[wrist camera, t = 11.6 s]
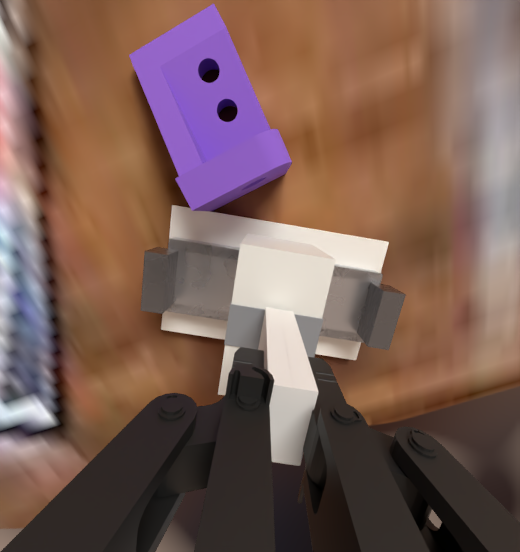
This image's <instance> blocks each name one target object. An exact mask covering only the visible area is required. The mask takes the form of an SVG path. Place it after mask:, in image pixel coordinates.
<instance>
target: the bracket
mask: <svg viewBox="0 0 520 552" xmlns="http://www.w3.org/2000/svg"><path fill="white" fill-rule="evenodd" d="M129 57H130V59H131V61H132V64H133V66H134V69H135V71H136V74H137V76H138V78H139V81H140V83H141V86H142V88H143V90H144V93H145V95H146V98H147V100H148V103H149V105H150V107H151V110H152V112H153V115H154V117H155V119H156V122H157V124H158V127H159V129H160V132H161V134H162V136H163V139H164V141H165V144H166V146H167V148H168V151H169V153H170V156H171V158H172V161H173V163H174V165H175V168H176V170H177V173H178V175H179V177H177V178H175V180H176V181H177V183H178V185H179V187H180V189H181V191H182V193H183V195H184V197H185V198H186V200H187V202H188V204H189V206H190V208H191V210H192V211H214V210H216V209H218V208H220V207H222V206H224V205H226V204H228V203H230V202H231V201H233V200H235V199H237V198H239V197H241V196H243V195H245V194H247V193H249V192H251V191H253V190H255V189H257V188H259V187H261V186H263V185H265V184H267V183H269V182H271V181H273V180H274V179H276V178H278V177H280V176H282V175H284V174H286V172H287V170H288V169H289V167H290V165H291V164H292V161H291V159H290V157H289V154H288V152H287V150H286V147H285V145H284V143H283V140H282V138H281V136H280V133H279V131H278V129H271V130H270V127H269V125H268V123H267V120H266V118H265V116H264V113H263V111H262V109H261V107H260V104H259V102H258V100H257V97H256V95H255V93H254V90H253V88H252V86H251V84H250V81H249V79H248V77H247V74H246V72H245V70H244V67H243V65H242V63H241V61H240V58H239V56H238V54H237V51H236V49H235V47H234V44H233V42H232V40H231V38H230V35H229V33H228V31H227V28H226V26H225V24H224V22H223V20H222V19H221V17H220V15H219V13H218V11H217V9H216V7H215V5H214V4H212V5H211V6H209V7H207V8H206V9H204V10H202V11H201V12H199V13H198V14H196V15H194V16H193V17H191V18H189V19H188V20H186V21H184V22H183V23H181V24H179V25H178V26H176V27H175V28H173V29H171V30H170V31H168V32H166V33H165V34H163V35H161V36H160V37H158V38H156V39H155V40H153V41H152V42H150V43H148V44H147V45H145V46H143V47H142V48H140V49H138V50H137V51H135V52H133V53H132V54H130V55H129ZM209 70H219V71H220V73H219V77H218V78H217V80H216V81H214V82H212V83H207V82H204V81H203V80H202V77H203V75H204V74H205V73H206V72H207V71H209ZM227 106H234V107H236V108H238V113H237V116H236V118H235V119H234V120H233V121H231V122H224V121H222V120H221V119H220V118H219V116H218V115H219V113H220V111H221V110H222V109H223V108H225V107H227Z"/></svg>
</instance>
